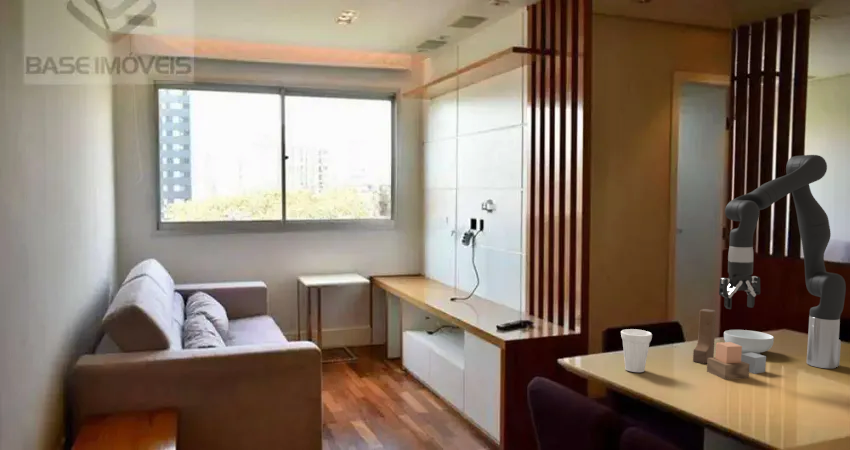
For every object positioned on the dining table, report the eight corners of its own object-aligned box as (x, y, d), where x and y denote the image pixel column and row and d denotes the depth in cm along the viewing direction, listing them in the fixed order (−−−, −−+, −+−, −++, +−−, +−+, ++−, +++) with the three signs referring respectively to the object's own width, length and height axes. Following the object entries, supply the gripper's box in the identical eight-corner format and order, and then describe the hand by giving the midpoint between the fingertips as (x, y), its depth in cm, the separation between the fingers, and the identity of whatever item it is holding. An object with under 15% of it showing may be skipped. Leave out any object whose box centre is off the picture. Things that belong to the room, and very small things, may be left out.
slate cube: (750, 367, 225) (751, 352, 225) (765, 372, 220) (766, 356, 220) (740, 369, 223) (740, 353, 222) (754, 374, 218) (755, 357, 217)
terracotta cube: (729, 358, 219) (730, 342, 219) (740, 362, 214) (741, 346, 213) (715, 358, 218) (716, 342, 217) (726, 363, 212) (727, 346, 212)
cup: (655, 371, 218) (657, 332, 218) (642, 377, 211) (644, 337, 210) (627, 364, 225) (629, 327, 224) (614, 370, 218) (615, 332, 217)
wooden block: (705, 364, 228) (708, 313, 227) (692, 361, 231) (695, 311, 230) (713, 359, 235) (716, 310, 234) (700, 356, 238) (703, 308, 237)
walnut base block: (729, 371, 221) (730, 356, 221) (748, 379, 213) (749, 364, 212) (706, 372, 219) (707, 357, 219) (724, 380, 211) (725, 365, 210)
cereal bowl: (774, 351, 249) (775, 333, 248) (770, 360, 235) (772, 341, 234) (726, 344, 258) (727, 327, 258) (720, 353, 244) (720, 334, 244)
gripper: (750, 257, 222) (749, 304, 223) (714, 259, 218) (713, 307, 219) (767, 260, 214) (765, 309, 216) (730, 262, 211) (728, 311, 212)
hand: (739, 308), depth 218 cm, fingers open, 8 cm apart
